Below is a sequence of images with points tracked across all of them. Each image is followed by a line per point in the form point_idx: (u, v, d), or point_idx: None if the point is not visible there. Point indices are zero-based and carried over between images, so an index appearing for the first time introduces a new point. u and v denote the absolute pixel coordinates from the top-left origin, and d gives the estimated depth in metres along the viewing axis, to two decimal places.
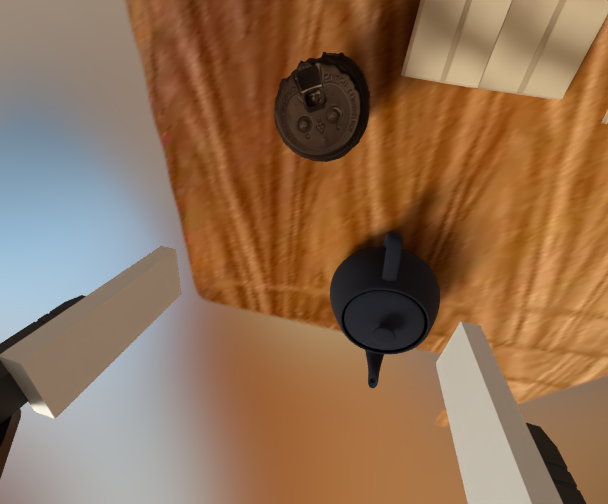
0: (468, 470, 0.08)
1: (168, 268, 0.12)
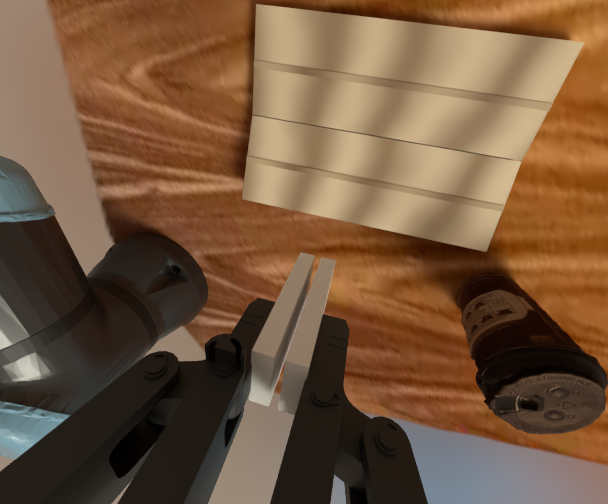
0: None
1: (310, 273, 0.14)
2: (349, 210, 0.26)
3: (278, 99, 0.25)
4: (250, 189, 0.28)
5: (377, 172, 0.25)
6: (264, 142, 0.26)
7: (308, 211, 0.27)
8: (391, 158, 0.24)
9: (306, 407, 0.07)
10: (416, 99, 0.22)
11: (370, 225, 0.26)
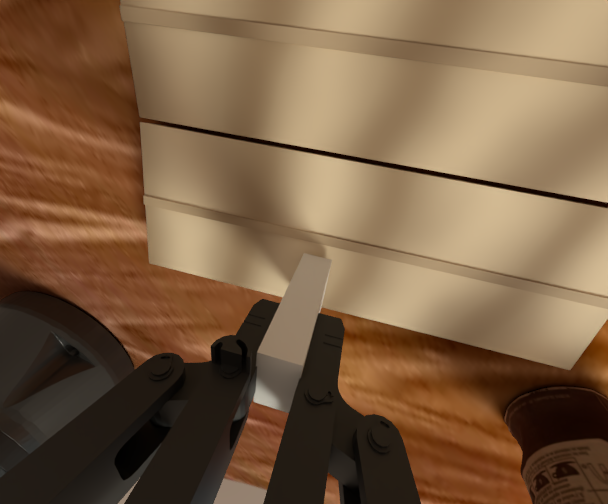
0: None
1: None
2: (326, 290, 0.15)
3: (180, 88, 0.13)
4: (159, 249, 0.16)
5: (374, 230, 0.13)
6: (168, 172, 0.14)
7: (257, 287, 0.16)
8: (402, 207, 0.13)
9: (300, 405, 0.07)
10: (460, 84, 0.10)
11: (362, 315, 0.15)
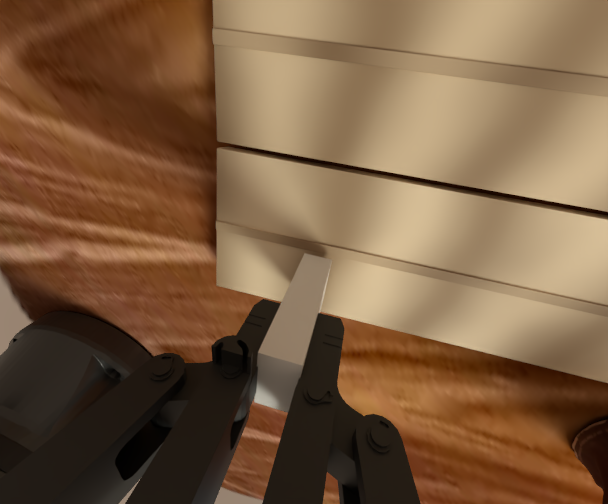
0: None
1: None
2: (403, 315, 0.15)
3: (267, 113, 0.12)
4: (228, 272, 0.16)
5: (464, 258, 0.13)
6: (244, 198, 0.14)
7: (330, 311, 0.16)
8: (498, 237, 0.12)
9: (299, 405, 0.07)
10: (585, 112, 0.10)
11: (440, 339, 0.15)
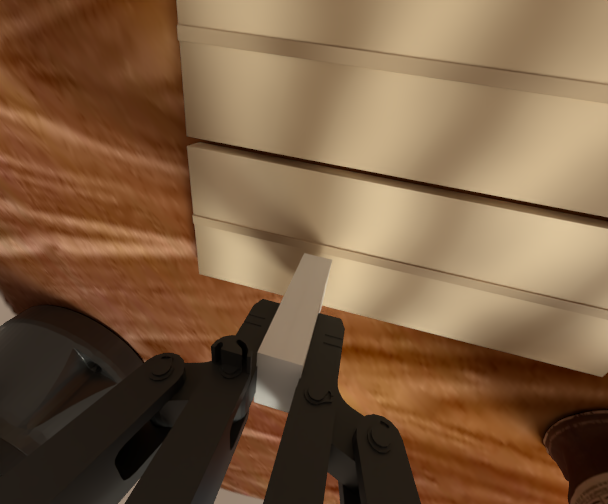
0: None
1: None
2: (371, 303, 0.16)
3: (233, 108, 0.12)
4: (208, 262, 0.17)
5: (425, 253, 0.13)
6: (217, 194, 0.14)
7: None
8: (456, 234, 0.13)
9: (299, 405, 0.07)
10: (535, 110, 0.10)
11: (405, 325, 0.16)
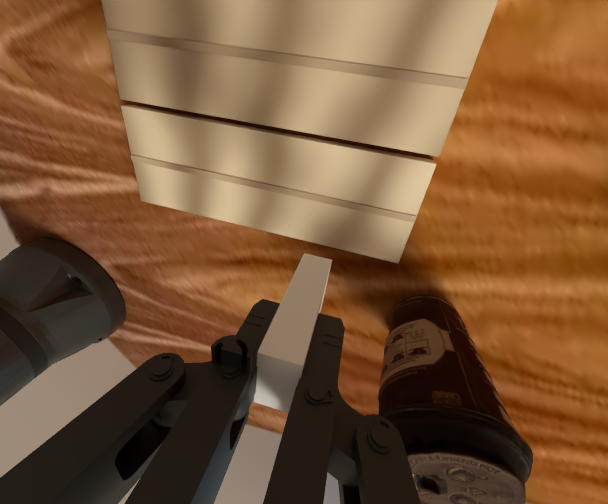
0: None
1: None
2: (249, 215, 0.23)
3: (143, 80, 0.20)
4: (146, 191, 0.25)
5: (270, 174, 0.21)
6: (143, 138, 0.22)
7: (209, 215, 0.24)
8: (283, 158, 0.20)
9: (300, 405, 0.07)
10: (300, 76, 0.17)
11: (273, 231, 0.23)
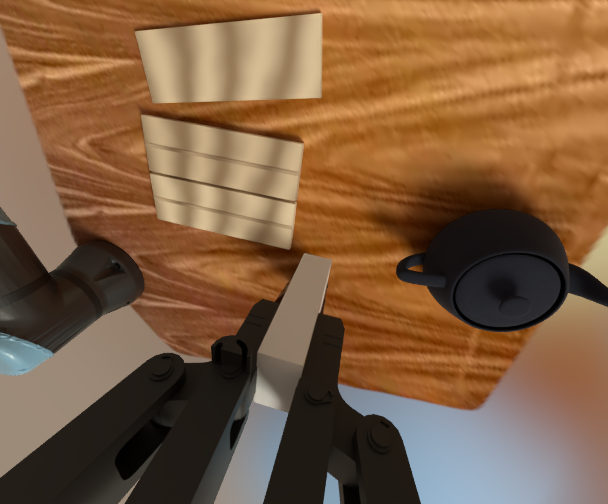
0: None
1: None
2: (215, 226, 0.45)
3: (162, 163, 0.42)
4: (160, 214, 0.47)
5: (224, 207, 0.43)
6: (160, 188, 0.44)
7: (194, 226, 0.46)
8: (229, 200, 0.42)
9: (300, 405, 0.07)
10: (233, 166, 0.39)
11: (228, 234, 0.46)
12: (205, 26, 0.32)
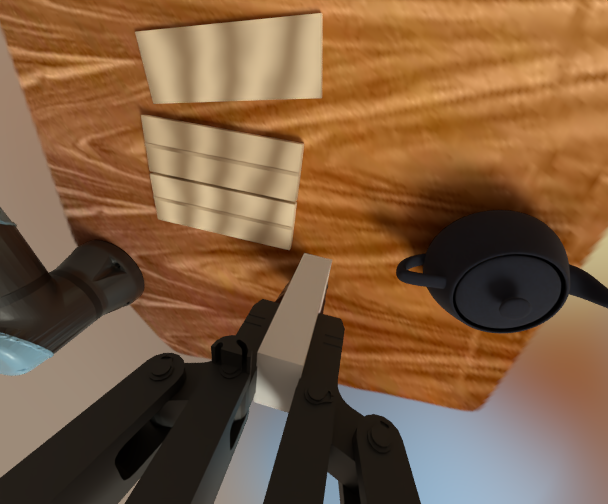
0: None
1: None
2: (215, 227, 0.45)
3: (162, 163, 0.42)
4: (160, 214, 0.47)
5: (224, 207, 0.43)
6: (160, 189, 0.44)
7: (194, 226, 0.46)
8: (229, 200, 0.42)
9: (300, 405, 0.07)
10: (233, 167, 0.39)
11: (228, 235, 0.46)
12: (205, 26, 0.32)
